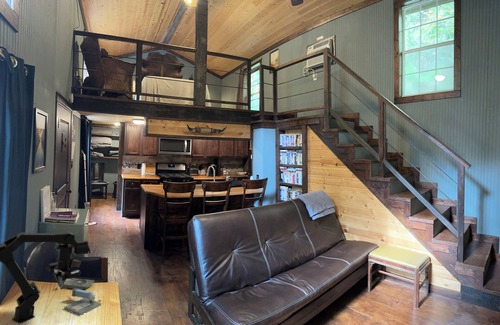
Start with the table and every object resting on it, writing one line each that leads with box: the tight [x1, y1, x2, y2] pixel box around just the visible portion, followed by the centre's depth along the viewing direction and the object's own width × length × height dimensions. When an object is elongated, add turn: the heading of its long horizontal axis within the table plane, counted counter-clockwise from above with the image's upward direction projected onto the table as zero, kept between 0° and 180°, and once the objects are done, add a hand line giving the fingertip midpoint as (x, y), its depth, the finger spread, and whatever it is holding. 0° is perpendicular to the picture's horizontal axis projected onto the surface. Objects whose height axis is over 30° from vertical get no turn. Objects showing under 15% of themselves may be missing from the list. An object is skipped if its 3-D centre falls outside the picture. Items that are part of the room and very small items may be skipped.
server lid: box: [64, 298, 102, 316], centre depth 150 cm, size 12×12×2 cm
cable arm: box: [71, 288, 97, 301], centre depth 156 cm, size 13×3×4 cm, turn 80°
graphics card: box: [57, 277, 95, 291], centre depth 171 cm, size 17×4×12 cm
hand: (60, 286), depth 146 cm, fingers closed
